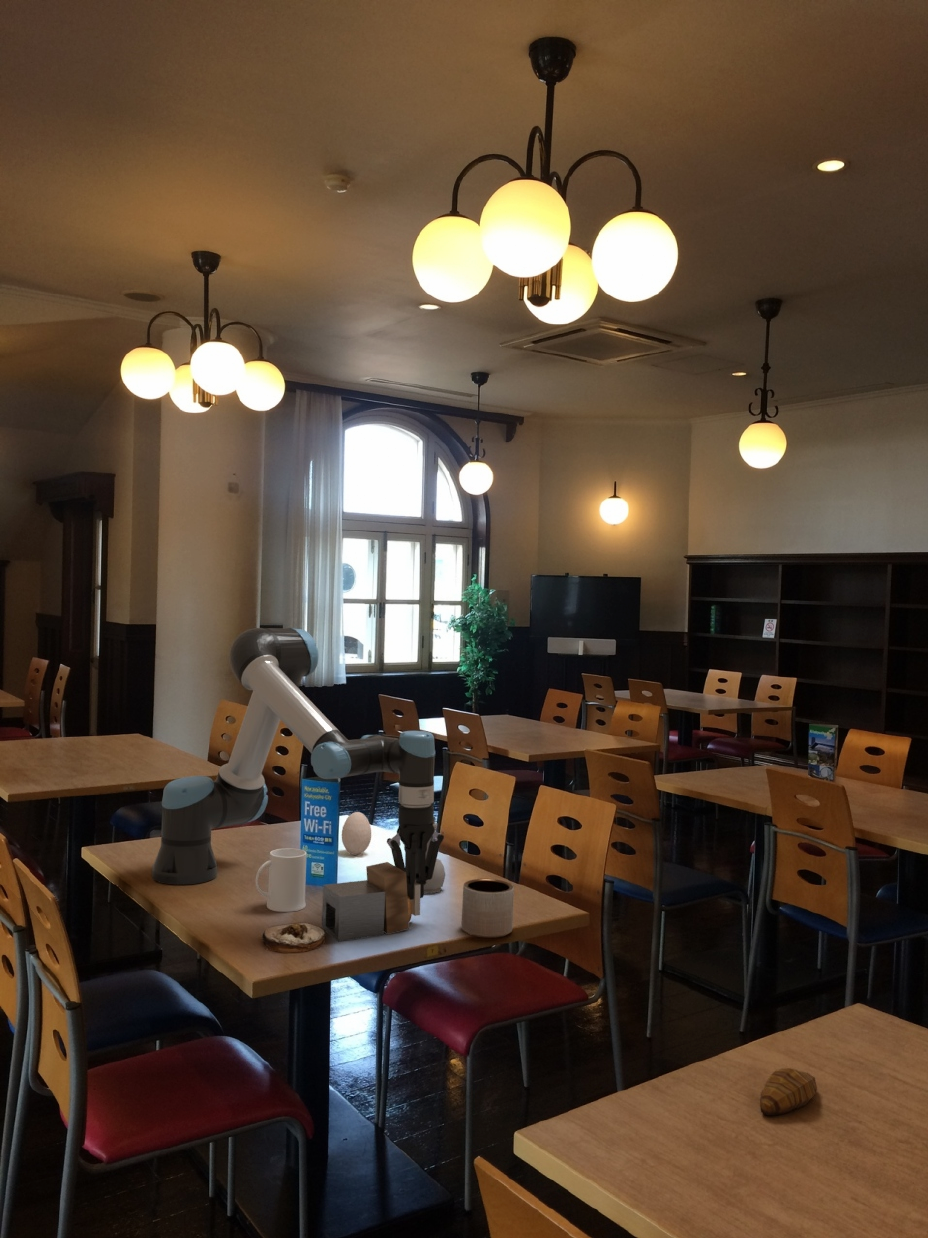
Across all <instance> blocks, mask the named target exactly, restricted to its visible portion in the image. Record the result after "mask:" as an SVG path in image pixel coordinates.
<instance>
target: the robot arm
mask: <svg viewBox="0 0 928 1238" xmlns="http://www.w3.org/2000/svg"><path fill="white" fill-rule="evenodd" d="M229 649H230V650H229V655H228V660H229V665H230V669H231V672H232V674H233V675H234V677H235V678H236V679H237V681H238V682H239V683H240V684H241V686H243V687H244V688H245V689H246V690H248V691H252V693H251V695H250V698H249V701H248V705H247V707H246V711H245V714H244V716H243V719H242V722H241V725H240V728H239V731H238V734H237V737H236V739H235V742H234V744H233V745H234V746H233V748H232V750H231V751H232V752H231V754H230V757H229V760H228V762H227V763H225V764H223V765H221V766H220V768H219V770H218V773H217V776H216V779H215V780H213V779H212V778H211V777H209V776H205V775H204V776H203V775H194V776H185V777H184V776H183V777H181V778H177V779H174V780H172V781H170V782H169V781H168V783H167V784H166V785H165V787H164V788H163V790H162V791H163V793H162V794H163V795H162V799H161V806H162V810H161V811H162V812H161V814H162V815H161V830H160V831H161V835H160V838H161V839H160V847H159V848H158V852H157V855H156V858H155V860H154V863H153V865H152V871H151V872H152V873H151V878H152V880H153V881H155V882H157V883H161V884H167V885H176V886H177V885H178V886H179V885H182V886H183V885H194V884H195V885H197V884H201V883H202V884H203V883H206V882H210V881H212V880H214V879H215V878H217V876H218V865H217V861H216V858H215V854H214V850H213V847H212V830H213V829H214V830H215V829H220V828H224V827H225V828H226V827H231V826H238V825H244V824H247V823H248V824H249V823H250V822H253V821H256V820H257V819H259V818H260V817H261V816H262V814H264V813H265V810H266V807H267V805H268V801H269V796H268V795H267V793H268V791H269V790H268V787H267V785H266V781H265V777H264V775H263V770H264V767H265V764H266V763H267V760H268V756H269V753H270V752H271V751H270V750H271V748H272V745H273V742H274V739H275V736H276V734H277V730H278V727H279V725H280V723H281V722H282V723H283V724H284V725H285V726H286V728H287V729H289V731H290V732H291V733H292V734H293V735H294V736H295V737H296V738H297V739H298V741H299V742H300V743H301V744H302V745H303V746H304V747H305V748H306V749H307V750H308V751H309V752H310V754H311V755H310V765H311V766H312V767H313V772H314V773H315V775H316V776H318V777H319V778H321V779H322V780H323V779H325V780H329V779H333V780H335V779H336V780H337V779H343V778H348V777H352V776H360V775H365V774H366V775H367V774H373V773H380V772H385V773H392V774H396V775H398V803H400V804H399V806H398V814H397V815H398V820H397V821H398V827H397V829H396V834H395V835H394V836H393V837H392V838H390V837H389V838H387V839H386V844H387V845H388V846H389V848H390V850H391V855H392V859H393V865H394V866H396V867H397V868H399V869H401V870H402V871H404V872H406V880H407V895H408V896H409V898H410V901H411V905H412V915H413V916H415V917H416V916H420V915H421V899H423V898H424V894H425V893H424V885H425V884H426V881H427V880H428V879H429V880H430V879H432V876H433V872H434V868H435V863H436V859H438V853H439V850H440V847H441V844H442V843H443V841H444V838H445V836H444V834H442V833H439V832H438V831H437V830H436V831H435V828H434V826H433V820H434V817H435V816H434V813H435V812H434V811H435V807H434V805H433V803H434V801H435V779H434V777H435V761H436V760H435V759H436V749H435V737H434V734H433V733H431V732H430V731H426V730H407V731H406V730H405V731H402V732H401V733H400V734H399V738H396V737H390V736H389V737H388V736H385V735H384V736H383V735H380V734H366V735H362V736H361V738H357V739H348V738H347V737H346V736H345V735H344V734H343V733H342V732H341V731H340V730H339V729H338V728H337V727H336V726H335V725H334V723H332V722H331V720H329V718H327V717H326V715H325V714H324V713H322V711H321V710H320V709H319V708H318V707H317V706H316V705H315V704H314V703H313V702H312V700H310V698H309V697H307V696H306V695H305V694H304V692H303V691H302V690H300V688H299V687H300V684H301V683H302V682H301V681H302V679H303V678H304V677H309V676H310V675H312V674H313V673H314V672H315V670H316V669H317V667H318V664H319V650H318V647H317V642H316V641H315V639H314V637H313V636H312V635H311V634H310V632H308V631H306V630H305V629H300V628H294V627H287V628H280V627H279V628H276V627H275V628H272V627H271V628H268V627H267V628H266V627H254V628H249V629H247V630H244V631H243V632H241V633H239V635H237V636H236V638H235V639H234V640H233V642H232V644H231V645H230V648H229ZM430 839H431V841H430V843H429V847H428V852H427V856H426V851H427V843H428V841H429V840H430ZM401 843H402V844H403V848H404V852H405V853H404V855H405V856H403V853H402V849H401ZM403 857H404V858H403ZM425 859H426V860H425ZM415 880H416V882H415Z"/></svg>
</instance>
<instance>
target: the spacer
mask: <svg viewBox="0 0 928 1238" xmlns="http://www.w3.org/2000/svg"><path fill="white" fill-rule="evenodd" d="M365 870H366V880H368V881H369V882H371V883H373V884H374V885H376V886H377V887H379V888H380V889H382V890H383V891H385V910H384V933H385V934H386V935H390V934H394V933H398V932H402V931H405V930H409V929H410V922H409V917H408V899H407V880H406V872H404V871H402V870H401V869H399V868H397V867H396V866H395V864H393V863H390V862H388V861H385V862H382V863H381V862H380V863H377V864H371V865H367V866H366V869H365Z"/></svg>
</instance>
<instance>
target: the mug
mask: <svg viewBox="0 0 928 1238" xmlns="http://www.w3.org/2000/svg"><path fill="white" fill-rule="evenodd" d="M307 854H308V852H307V851H305V850H303V849H301V848H300V849H299V848H290V847H287V848H285V847H284V848H277V849H274V850H271V851H270V852H269V860H267V861H265V862H264V863H263V864H261V865H260V867H259V868H258V870H257V872H256V874H255V881H254V882H255V887H256V890H257V891H258V892H259V894H260V895H262V896H264V897H265V898H267V902H266V908H267V909H268V910H270V911H273V912H277V913H278V912H279V913H292V912H298V911H301V910H304V909H305V908H306V905H307V904H306V878H307V877H306V874H307ZM268 866H269V868H268V889H267V890H268V891H264V890H262V889H261V888H260V885H259V877H260V874H261V872H262V871H263V870H264V869H265V868H266V867H268Z"/></svg>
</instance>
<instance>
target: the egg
mask: <svg viewBox="0 0 928 1238" xmlns="http://www.w3.org/2000/svg"><path fill="white" fill-rule="evenodd" d="M371 840H372V828H371V824H370V822H369V820H368V817H366V815H365V814H364V813H362V812H360V811H355V812H353V813H351V814H349V816H348V817H347V818H346V820H345V822H344V824H343V825H342V829H341V842H342V845H343V847H344V848H345V850H346V851H347V852H348V853H350V854H352V855H354V856H356V855H357V856H358V855H360V854H362V853H364V852H365V851H366V850H367V849H368V848H369V847H370V843H371Z"/></svg>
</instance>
